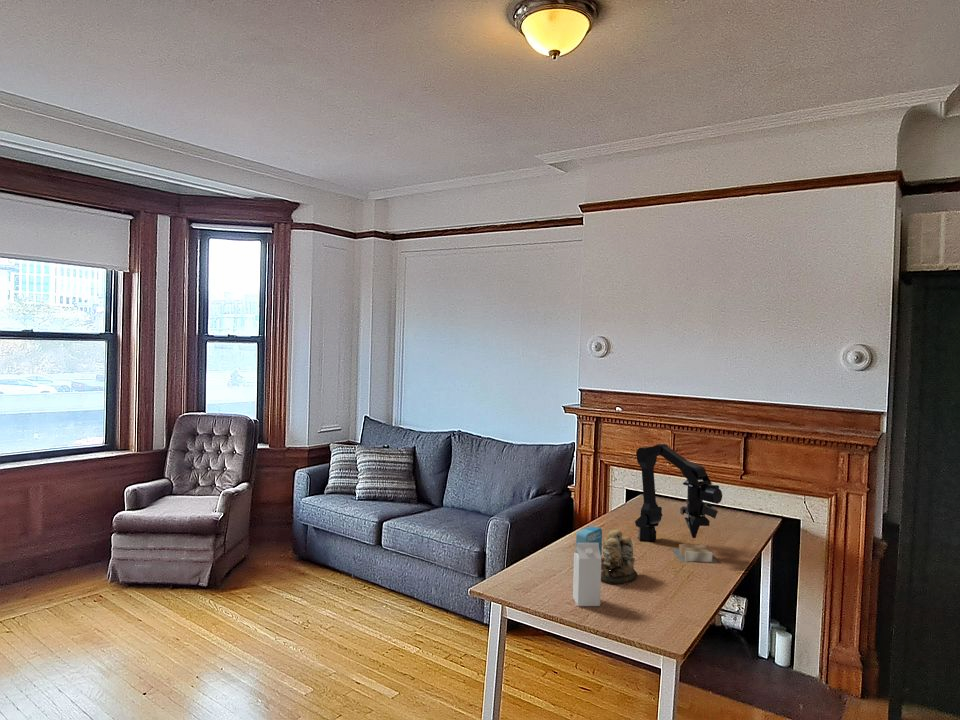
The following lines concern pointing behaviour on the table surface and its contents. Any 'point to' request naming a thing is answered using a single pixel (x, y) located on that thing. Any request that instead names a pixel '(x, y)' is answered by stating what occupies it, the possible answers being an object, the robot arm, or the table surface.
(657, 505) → the robot arm
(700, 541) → the table surface
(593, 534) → the data package
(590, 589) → the milk carton
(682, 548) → the slab
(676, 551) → the mat
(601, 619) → the table surface
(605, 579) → the owl figurine
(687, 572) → the table surface
